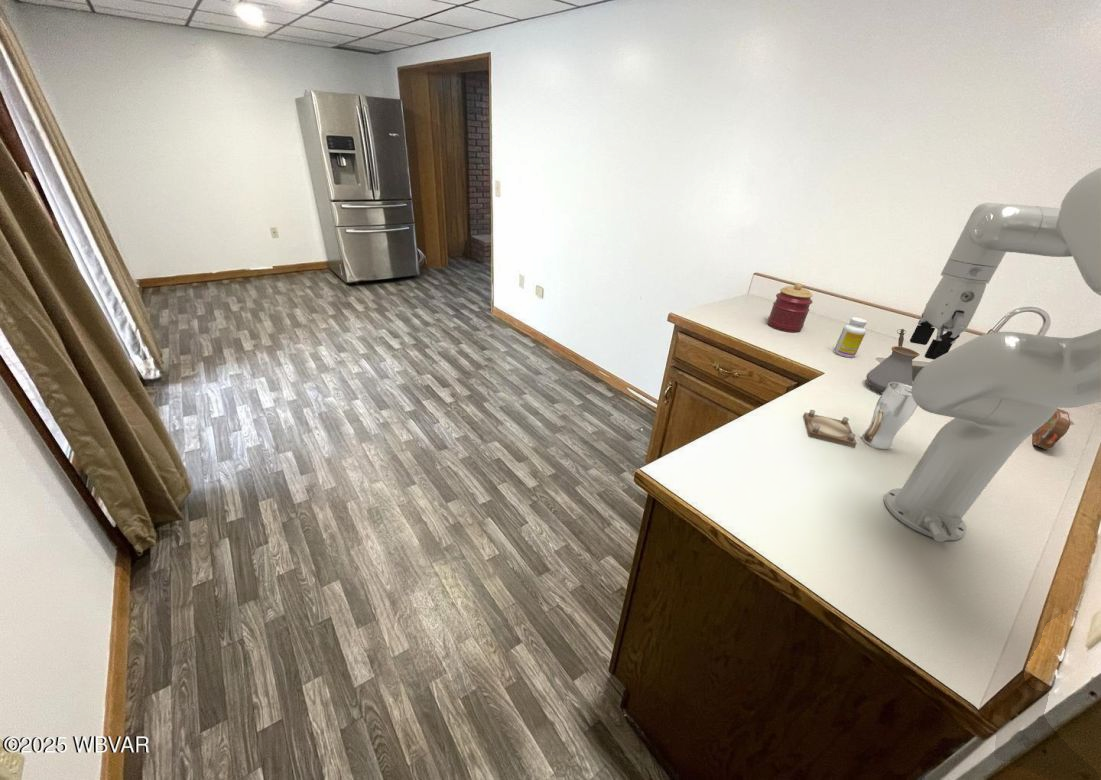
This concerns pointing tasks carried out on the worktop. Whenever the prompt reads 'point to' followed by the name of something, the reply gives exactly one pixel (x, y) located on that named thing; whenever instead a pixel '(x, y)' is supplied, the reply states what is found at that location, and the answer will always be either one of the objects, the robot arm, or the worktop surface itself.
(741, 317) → the worktop surface
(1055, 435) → the brown snack package
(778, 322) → the canister
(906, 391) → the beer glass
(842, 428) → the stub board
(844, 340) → the supplement bottle
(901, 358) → the coffee pot
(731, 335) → the worktop surface
